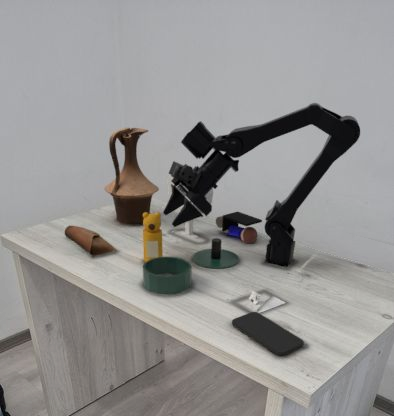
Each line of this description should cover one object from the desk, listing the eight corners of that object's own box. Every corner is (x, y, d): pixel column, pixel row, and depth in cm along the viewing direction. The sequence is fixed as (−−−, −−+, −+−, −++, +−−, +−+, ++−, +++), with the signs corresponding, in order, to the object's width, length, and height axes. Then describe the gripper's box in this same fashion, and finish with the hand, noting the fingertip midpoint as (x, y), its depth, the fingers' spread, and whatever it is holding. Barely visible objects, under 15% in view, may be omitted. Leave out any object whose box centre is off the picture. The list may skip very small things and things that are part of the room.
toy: (144, 257, 126) (142, 209, 119) (162, 257, 126) (161, 209, 119) (143, 265, 122) (141, 215, 114) (162, 265, 122) (161, 216, 114)
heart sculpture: (212, 241, 137) (215, 179, 127) (201, 245, 134) (202, 182, 124) (177, 227, 146) (177, 168, 136) (165, 231, 143) (164, 171, 133)
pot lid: (246, 258, 127) (248, 237, 124) (225, 275, 118) (226, 252, 115) (207, 249, 132) (207, 228, 129) (183, 263, 123) (183, 242, 120)
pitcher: (135, 233, 142) (130, 134, 126) (95, 222, 149) (85, 127, 133) (169, 218, 154) (168, 126, 138) (130, 208, 161) (124, 120, 145)
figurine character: (214, 237, 144) (245, 247, 133) (213, 213, 140) (246, 221, 129) (230, 233, 147) (262, 242, 136) (230, 209, 143) (263, 217, 133)
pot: (199, 281, 115) (200, 263, 112) (174, 300, 106) (174, 280, 104) (161, 270, 119) (161, 253, 117) (134, 287, 111) (133, 268, 108)
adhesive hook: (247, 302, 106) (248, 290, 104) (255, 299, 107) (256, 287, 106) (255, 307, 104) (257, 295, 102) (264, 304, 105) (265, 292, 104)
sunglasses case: (118, 249, 129) (105, 232, 124) (100, 266, 128) (86, 249, 123) (90, 231, 141) (77, 214, 136) (73, 246, 140) (60, 230, 135)
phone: (280, 354, 88) (229, 320, 97) (279, 357, 88) (229, 323, 98) (306, 342, 91) (255, 310, 101) (305, 345, 92) (254, 313, 101)
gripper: (178, 142, 118) (138, 189, 122) (200, 157, 104) (154, 210, 107) (206, 172, 125) (168, 216, 128) (231, 191, 110) (186, 239, 113)
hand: (168, 219), depth 119 cm, fingers open, 9 cm apart
